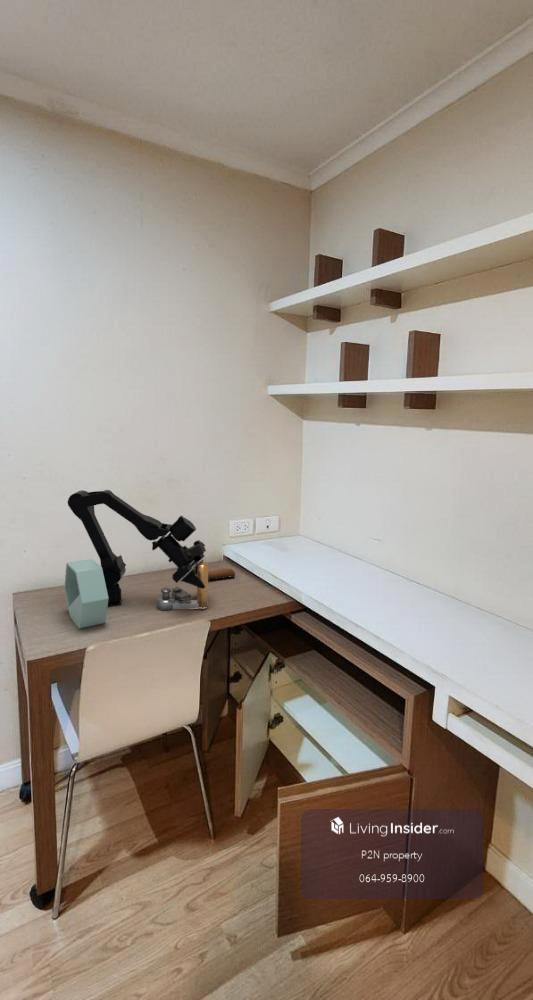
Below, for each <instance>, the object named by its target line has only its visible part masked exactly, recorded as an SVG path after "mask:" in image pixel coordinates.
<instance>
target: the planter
mask: <svg viewBox="0 0 533 1000" xmlns="http://www.w3.org/2000/svg"><path fill="white" fill-rule="evenodd" d="M63 587H64V594H65V599H66V603H67V608H68V609H67V610H68V613H69V614H68V615H69V618H70V619H71V620H72V622H73V623H74V624H75V625H76V626H77V628H78V629H84V628H89V627H93V626H98V625H102V624H105V623H106V619H107V612H108V607H109V606H108V599H109V598H108V593H107V588H106V584H105V579H104V574H103V570H102V567H101V564H98V562H96V561H95V560H94V559H92V558H90V559H81V560H75V561H69V562H66V564H65V575H64V586H63Z"/></svg>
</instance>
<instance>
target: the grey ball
mask: <svg viewBox="0 0 533 1000" xmlns="http://www.w3.org/2000/svg"><path fill="white" fill-rule="evenodd" d="M160 593H161V596H162V599H163V600H168V599H170V596H171V594H170V593H172V588H169V587H162V588H160Z"/></svg>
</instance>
